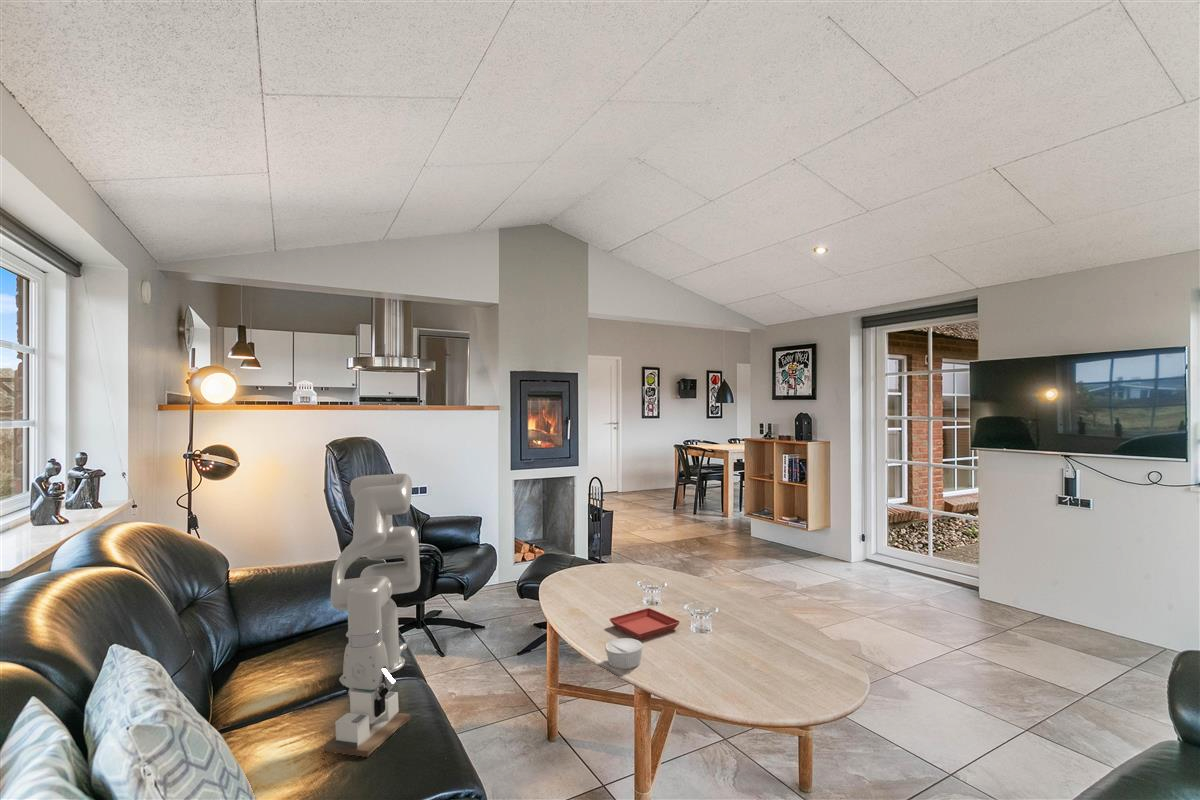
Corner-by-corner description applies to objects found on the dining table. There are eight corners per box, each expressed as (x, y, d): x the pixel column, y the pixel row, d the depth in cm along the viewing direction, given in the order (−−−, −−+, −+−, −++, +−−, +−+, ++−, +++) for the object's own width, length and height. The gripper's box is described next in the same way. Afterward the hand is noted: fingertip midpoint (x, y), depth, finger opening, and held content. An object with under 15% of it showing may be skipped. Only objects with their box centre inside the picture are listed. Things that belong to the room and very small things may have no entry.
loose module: (364, 710, 141) (363, 680, 141) (385, 712, 139) (384, 683, 139) (350, 720, 136) (349, 690, 136) (371, 723, 134) (370, 693, 134)
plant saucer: (649, 616, 210) (648, 607, 210) (681, 630, 194) (681, 620, 194) (608, 628, 200) (608, 618, 200) (639, 644, 185) (638, 634, 185)
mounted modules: (378, 709, 146) (377, 689, 146) (398, 711, 144) (397, 691, 144) (336, 742, 131) (335, 720, 131) (357, 745, 130) (357, 723, 130)
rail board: (370, 715, 147) (369, 704, 147) (410, 720, 144) (410, 709, 144) (324, 751, 132) (323, 739, 132) (367, 758, 128) (367, 745, 128)
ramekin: (600, 668, 168) (599, 650, 168) (613, 653, 178) (612, 636, 178) (636, 673, 164) (635, 655, 164) (647, 657, 174) (647, 639, 174)
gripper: (324, 641, 137) (327, 717, 136) (385, 646, 132) (388, 724, 132) (346, 629, 144) (349, 701, 144) (405, 633, 139) (408, 708, 139)
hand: (368, 711), depth 138 cm, fingers closed on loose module, 6 cm apart
